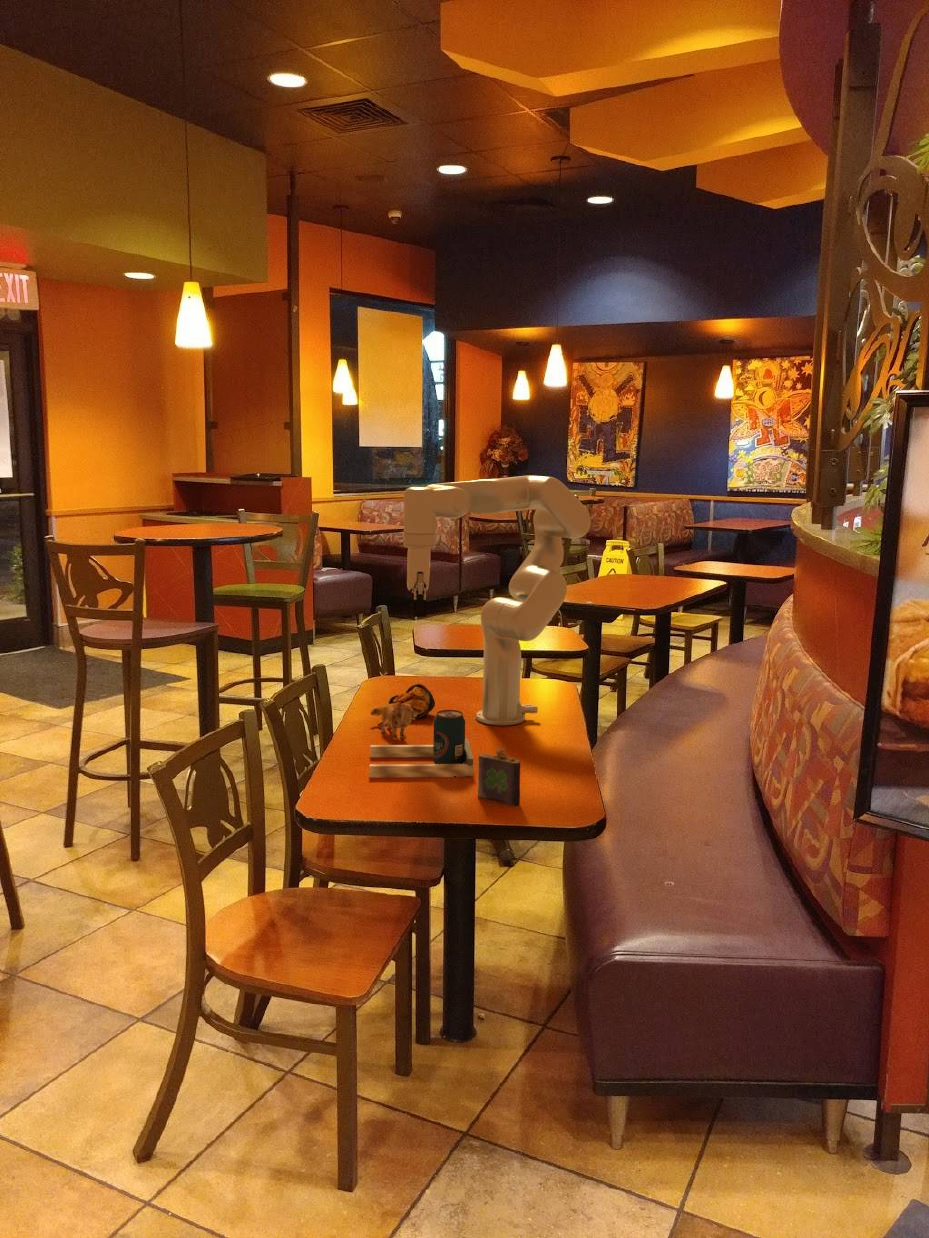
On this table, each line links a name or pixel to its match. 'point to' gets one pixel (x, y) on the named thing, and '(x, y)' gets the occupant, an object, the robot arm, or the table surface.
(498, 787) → the flask
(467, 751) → the guide track
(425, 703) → the fried shrimp in bowl
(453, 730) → the soda can
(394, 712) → the lion figurine
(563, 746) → the table surface
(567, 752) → the table surface
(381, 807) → the table surface
